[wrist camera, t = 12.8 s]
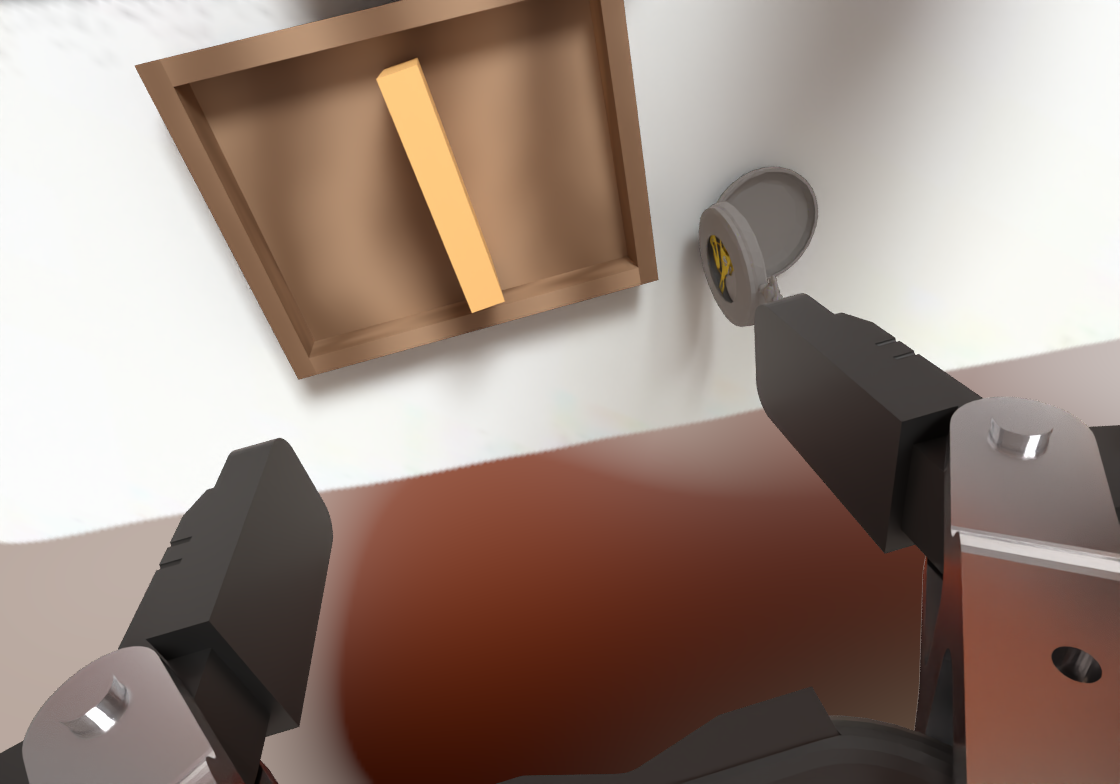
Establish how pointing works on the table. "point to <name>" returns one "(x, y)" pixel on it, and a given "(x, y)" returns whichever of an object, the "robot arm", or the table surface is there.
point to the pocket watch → (755, 238)
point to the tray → (388, 177)
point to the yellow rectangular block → (440, 181)
